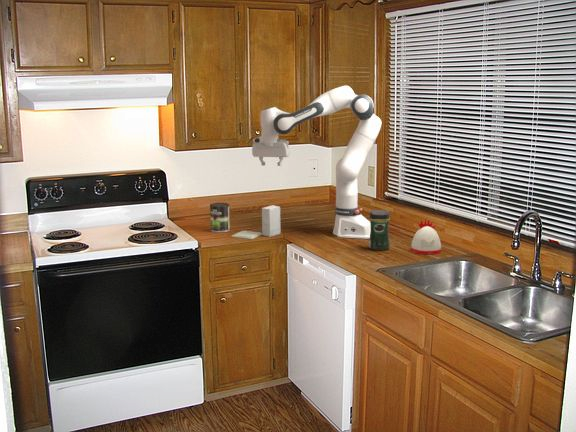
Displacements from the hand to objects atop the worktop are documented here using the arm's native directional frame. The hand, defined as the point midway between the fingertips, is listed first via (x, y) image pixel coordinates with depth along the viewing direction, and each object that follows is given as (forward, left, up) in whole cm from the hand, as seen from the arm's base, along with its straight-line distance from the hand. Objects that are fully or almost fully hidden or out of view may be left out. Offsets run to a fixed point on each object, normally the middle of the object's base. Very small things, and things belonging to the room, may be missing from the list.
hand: (271, 165), depth 338 cm
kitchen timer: (-84, +4, -35) cm, 91 cm away
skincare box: (-3, +7, -35) cm, 36 cm away
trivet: (+7, +14, -35) cm, 38 cm away
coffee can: (+26, +10, -35) cm, 45 cm away
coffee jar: (-63, +10, -35) cm, 72 cm away
